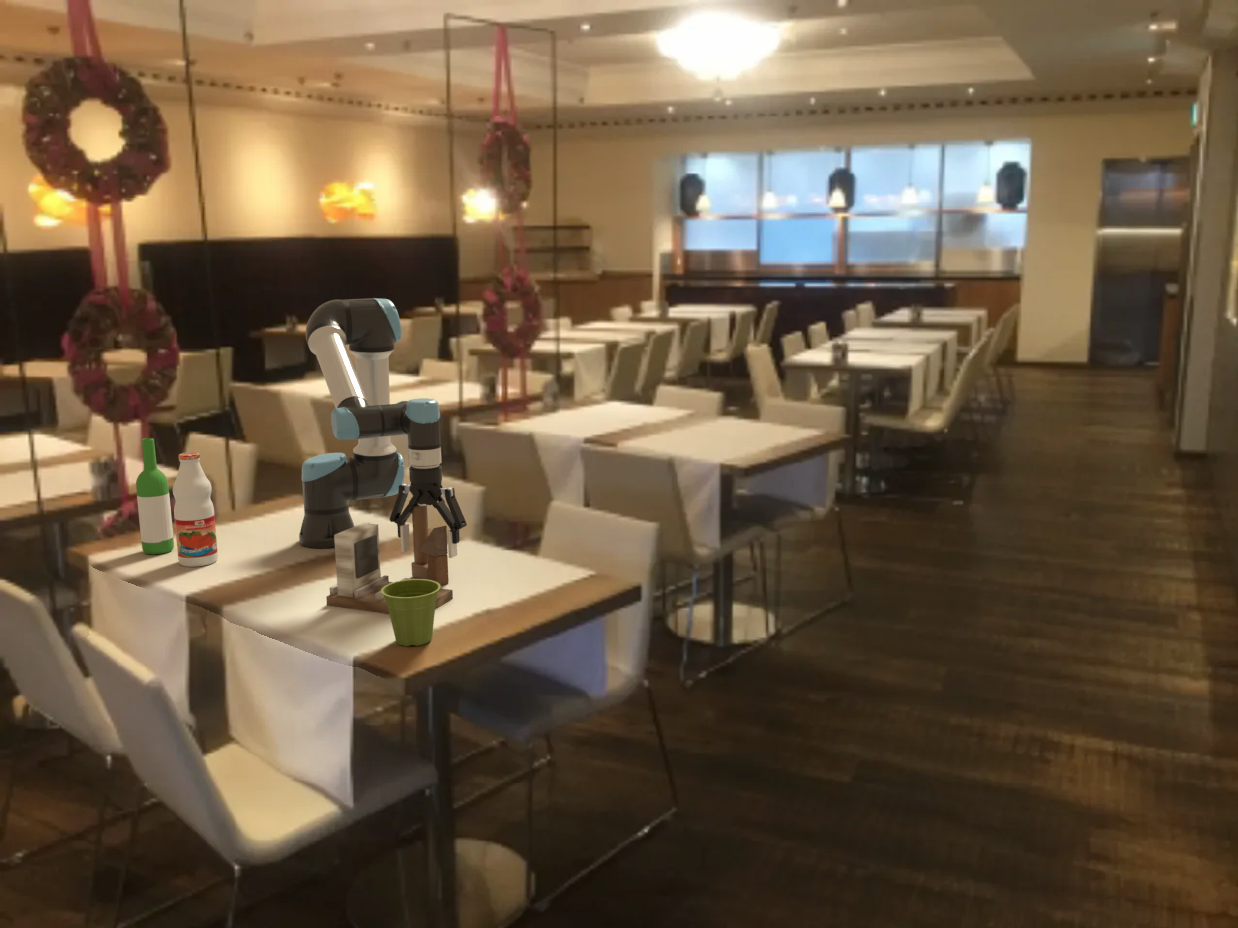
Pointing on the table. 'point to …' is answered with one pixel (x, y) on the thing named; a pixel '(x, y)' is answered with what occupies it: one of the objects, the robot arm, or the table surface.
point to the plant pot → (412, 609)
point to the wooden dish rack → (363, 572)
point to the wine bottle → (154, 504)
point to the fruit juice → (194, 514)
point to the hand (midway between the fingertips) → (429, 553)
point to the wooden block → (429, 548)
